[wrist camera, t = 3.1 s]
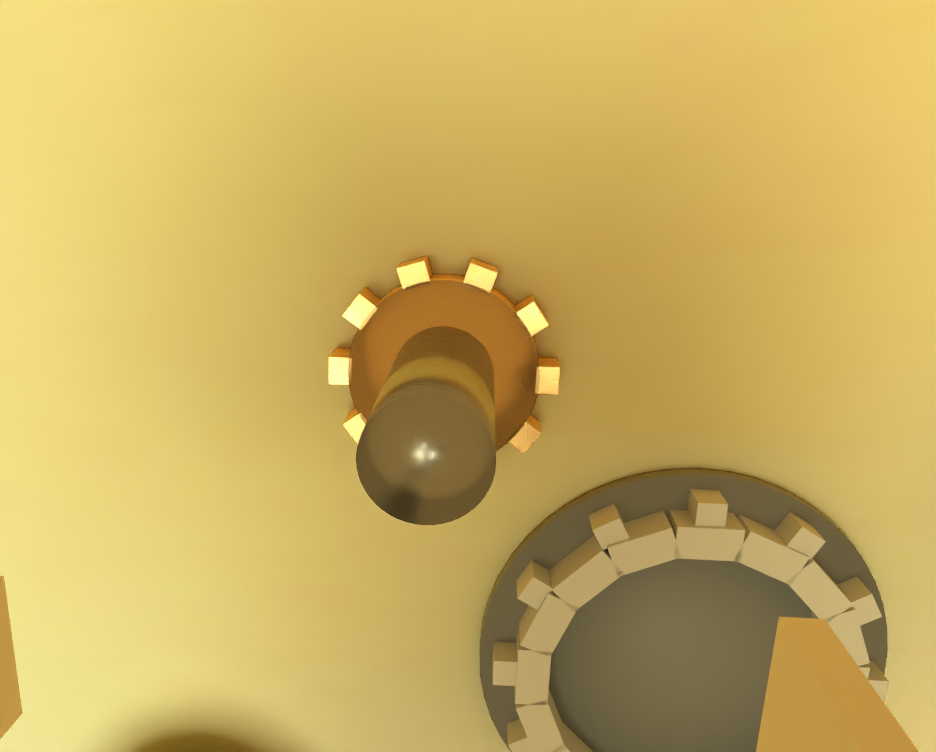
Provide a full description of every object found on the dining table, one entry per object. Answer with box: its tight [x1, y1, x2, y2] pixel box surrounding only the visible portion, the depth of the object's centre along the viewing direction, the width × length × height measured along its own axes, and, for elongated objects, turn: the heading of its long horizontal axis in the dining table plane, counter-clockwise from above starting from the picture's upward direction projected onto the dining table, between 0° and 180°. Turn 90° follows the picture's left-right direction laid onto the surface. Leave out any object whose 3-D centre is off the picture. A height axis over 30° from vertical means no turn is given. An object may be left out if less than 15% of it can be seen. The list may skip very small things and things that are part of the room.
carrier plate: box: [480, 469, 888, 752], centre depth 35 cm, size 18×18×2 cm
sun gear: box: [329, 256, 560, 525], centre depth 28 cm, size 9×9×10 cm
